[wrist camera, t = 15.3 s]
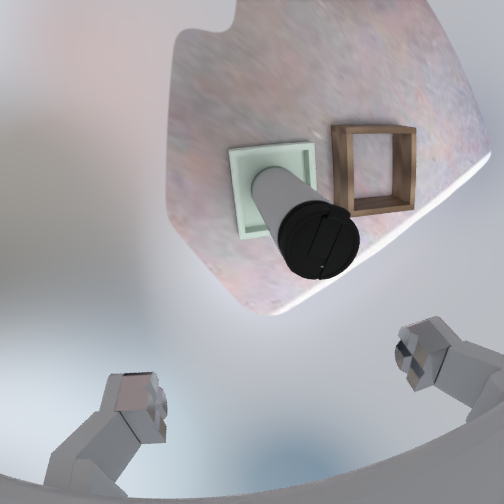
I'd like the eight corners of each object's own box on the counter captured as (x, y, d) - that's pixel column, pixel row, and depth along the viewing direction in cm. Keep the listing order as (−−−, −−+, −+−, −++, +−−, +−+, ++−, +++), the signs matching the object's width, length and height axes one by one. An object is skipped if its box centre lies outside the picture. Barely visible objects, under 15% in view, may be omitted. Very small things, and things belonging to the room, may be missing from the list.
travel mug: (303, 171, 41) (376, 219, 23) (288, 216, 44) (344, 293, 26) (259, 157, 40) (303, 197, 22) (244, 205, 42) (274, 280, 24)
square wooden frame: (331, 125, 39) (346, 127, 35) (396, 124, 40) (416, 127, 36) (334, 206, 44) (348, 217, 40) (396, 199, 45) (414, 209, 41)
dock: (227, 149, 39) (229, 151, 37) (308, 141, 40) (314, 143, 38) (238, 232, 44) (240, 239, 42) (312, 222, 45) (317, 228, 43)
